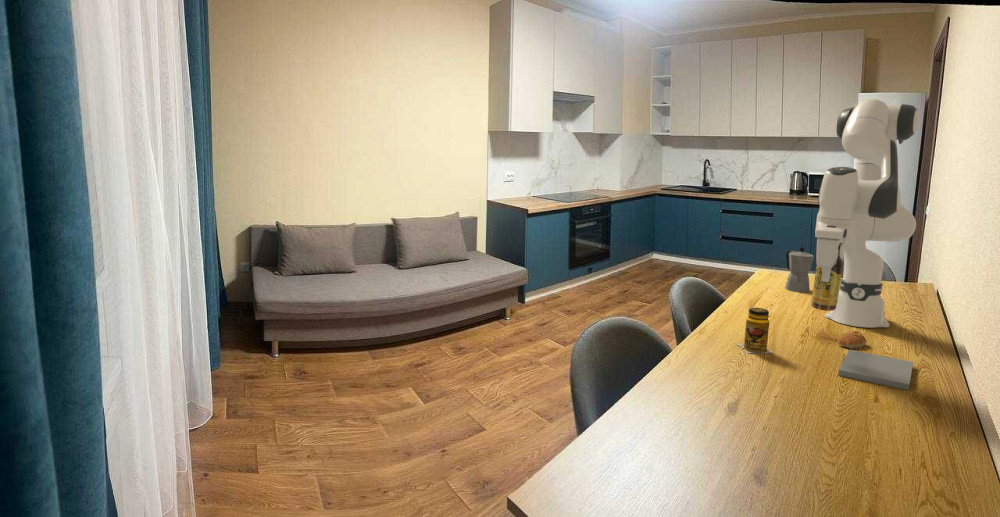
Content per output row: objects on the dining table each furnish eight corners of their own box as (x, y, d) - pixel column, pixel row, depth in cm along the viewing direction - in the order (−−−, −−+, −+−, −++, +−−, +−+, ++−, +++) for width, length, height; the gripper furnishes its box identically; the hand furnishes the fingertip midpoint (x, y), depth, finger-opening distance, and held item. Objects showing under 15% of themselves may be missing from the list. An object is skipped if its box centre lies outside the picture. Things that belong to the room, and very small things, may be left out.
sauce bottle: (805, 306, 165) (813, 236, 161) (822, 304, 167) (829, 235, 163) (826, 312, 159) (834, 239, 155) (843, 310, 161) (851, 238, 157)
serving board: (848, 354, 168) (849, 349, 167) (912, 367, 159) (913, 361, 159) (838, 375, 152) (838, 369, 152) (908, 390, 143) (909, 384, 143)
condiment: (748, 353, 167) (752, 312, 165) (735, 343, 175) (739, 304, 173) (773, 353, 167) (778, 313, 165) (759, 344, 176) (763, 305, 173)
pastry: (857, 352, 171) (859, 339, 170) (832, 346, 176) (833, 334, 175) (867, 345, 177) (868, 332, 177) (842, 339, 182) (843, 327, 181)
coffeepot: (818, 293, 241) (823, 249, 238) (798, 294, 239) (803, 250, 236) (792, 284, 256) (797, 243, 253) (773, 285, 254) (777, 244, 251)
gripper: (827, 223, 169) (821, 271, 171) (814, 231, 152) (808, 283, 155) (852, 225, 165) (846, 274, 167) (842, 233, 149) (835, 287, 151)
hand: (827, 278), depth 161 cm, fingers closed on sauce bottle, 6 cm apart
